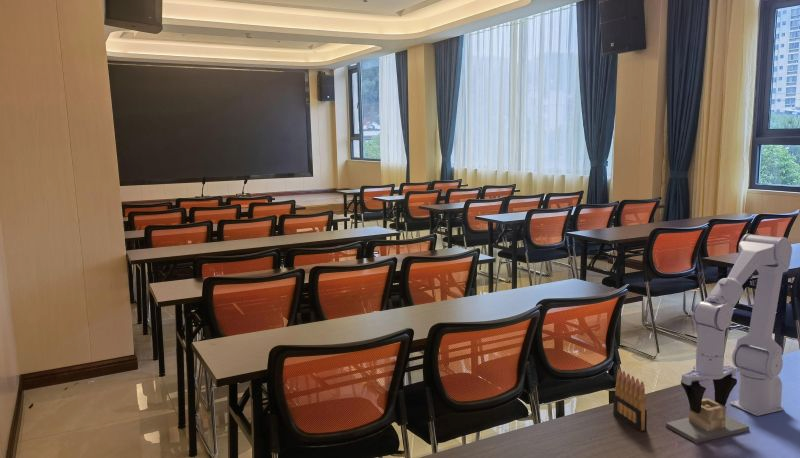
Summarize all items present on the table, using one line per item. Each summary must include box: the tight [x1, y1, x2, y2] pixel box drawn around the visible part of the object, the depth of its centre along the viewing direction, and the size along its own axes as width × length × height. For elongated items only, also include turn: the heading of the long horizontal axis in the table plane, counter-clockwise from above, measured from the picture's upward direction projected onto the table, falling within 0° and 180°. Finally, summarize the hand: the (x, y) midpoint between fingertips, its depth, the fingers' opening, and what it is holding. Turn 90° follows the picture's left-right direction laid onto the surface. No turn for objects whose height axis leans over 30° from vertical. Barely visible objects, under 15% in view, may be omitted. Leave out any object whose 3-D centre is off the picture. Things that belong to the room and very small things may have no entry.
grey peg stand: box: [665, 405, 750, 444], centre depth 141 cm, size 16×9×6 cm, turn 110°
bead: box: [688, 397, 727, 431], centre depth 141 cm, size 5×5×5 cm
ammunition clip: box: [612, 368, 648, 432], centre depth 145 cm, size 11×2×12 cm, turn 15°
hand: (707, 408), depth 140 cm, fingers open, 7 cm apart
